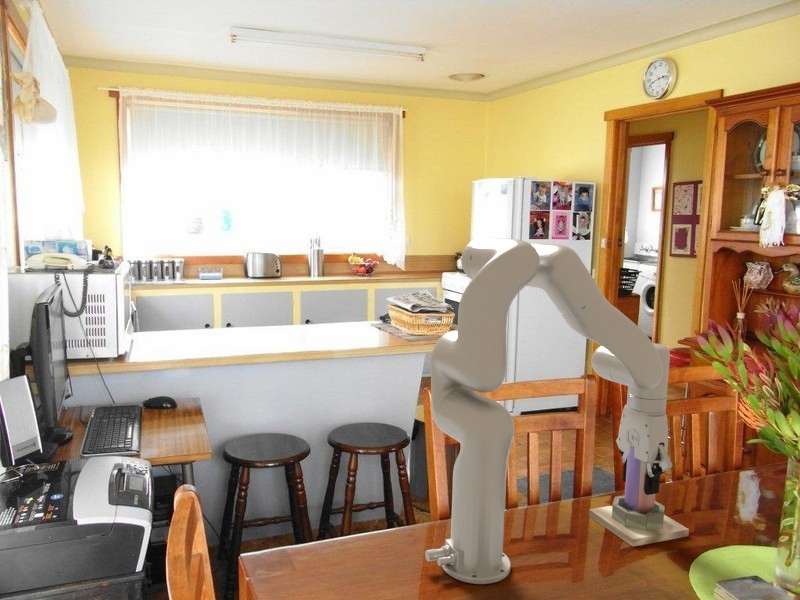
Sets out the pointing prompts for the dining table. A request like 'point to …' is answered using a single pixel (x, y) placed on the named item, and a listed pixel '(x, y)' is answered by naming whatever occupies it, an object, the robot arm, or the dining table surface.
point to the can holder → (638, 523)
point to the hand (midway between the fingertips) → (640, 486)
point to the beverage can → (637, 486)
